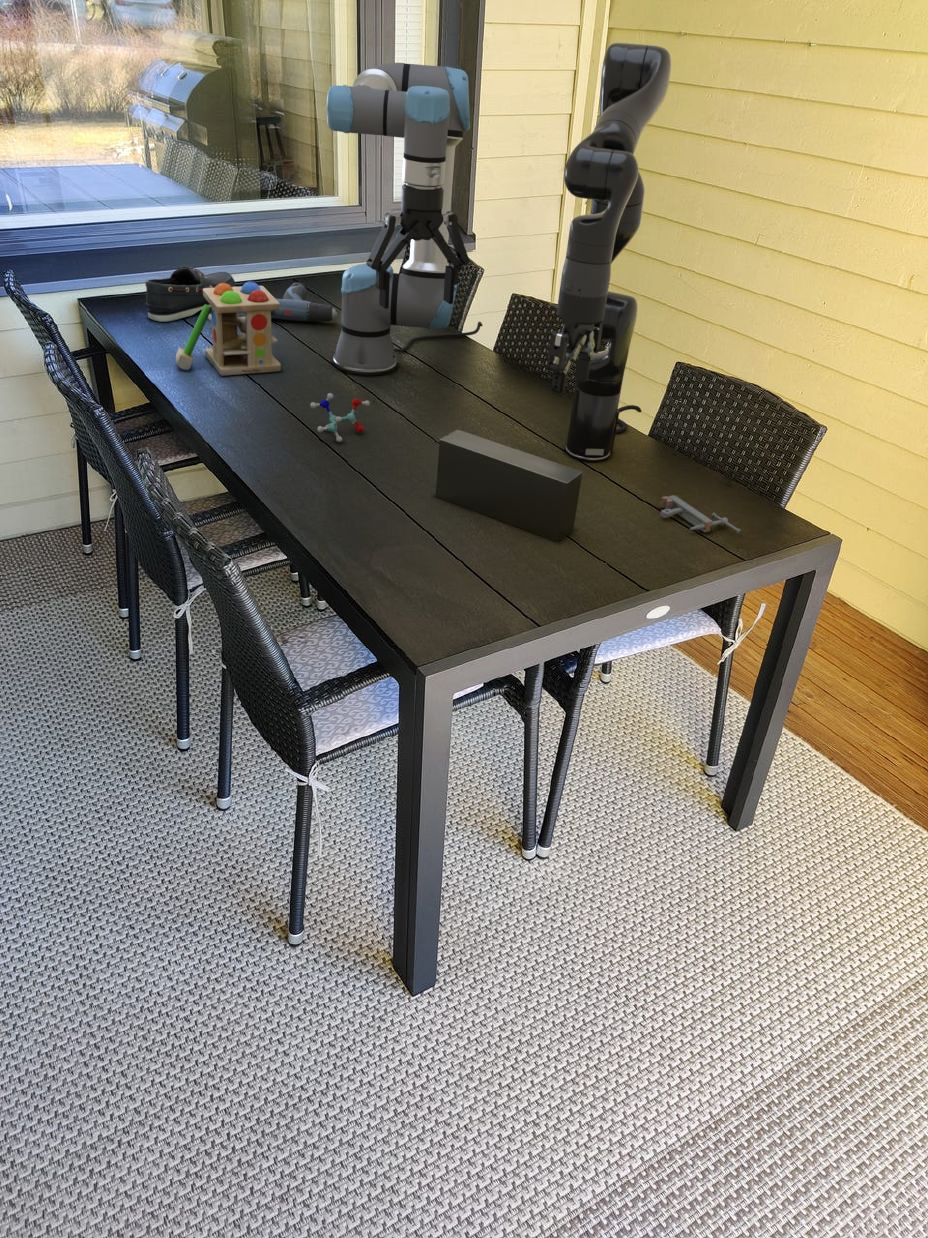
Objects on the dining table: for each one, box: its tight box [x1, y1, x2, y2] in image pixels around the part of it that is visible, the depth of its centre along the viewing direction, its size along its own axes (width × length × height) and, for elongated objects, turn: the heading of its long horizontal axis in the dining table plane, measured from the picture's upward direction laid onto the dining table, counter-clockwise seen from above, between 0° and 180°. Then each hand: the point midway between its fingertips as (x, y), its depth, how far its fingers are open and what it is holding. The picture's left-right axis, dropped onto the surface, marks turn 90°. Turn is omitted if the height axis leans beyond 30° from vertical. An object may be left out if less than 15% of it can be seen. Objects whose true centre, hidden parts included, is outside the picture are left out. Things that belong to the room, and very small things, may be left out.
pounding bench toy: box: [174, 281, 282, 377], centre depth 225 cm, size 23×14×18 cm, turn 116°
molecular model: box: [309, 392, 371, 443], centre depth 201 cm, size 12×10×10 cm
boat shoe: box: [144, 265, 237, 323], centre depth 261 cm, size 13×33×10 cm, turn 147°
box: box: [435, 429, 583, 543], centre depth 178 cm, size 26×6×12 cm, turn 57°
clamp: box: [659, 494, 742, 534], centre depth 183 cm, size 15×2×10 cm
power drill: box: [271, 282, 338, 322], centre depth 265 cm, size 5×19×20 cm
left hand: (416, 304), depth 187 cm, fingers open, 13 cm apart
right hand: (569, 387), depth 162 cm, fingers open, 8 cm apart
